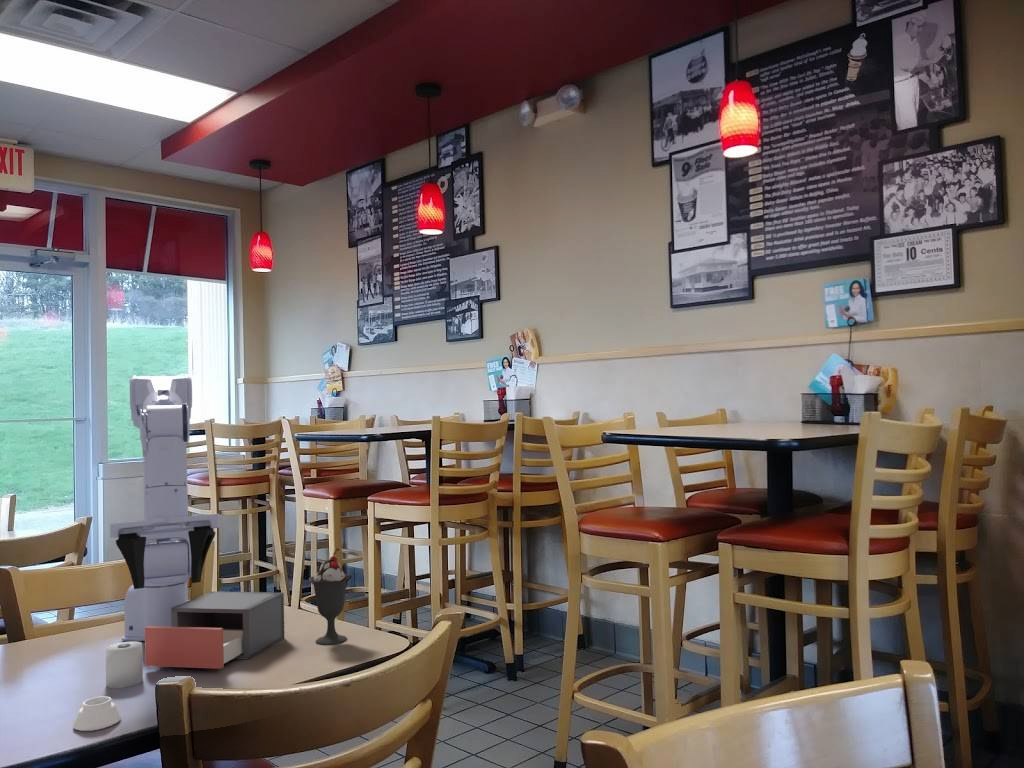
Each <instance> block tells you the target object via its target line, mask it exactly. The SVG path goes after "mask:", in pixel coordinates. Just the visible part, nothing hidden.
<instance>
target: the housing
mask: <svg viewBox="0 0 1024 768" xmlns="http://www.w3.org/2000/svg"><path fill="white" fill-rule="evenodd" d="M284 595H285V594H284V592H272V591H271V592H270V591H269V592H267V591H266V592H265V591H264V592H263V591H258V592H256V591H210V592H207V593H205V594H202V595H200V596H198V597H197V596H196V597H195V598H193V599H190V600H188V601H187V602H185V603H182V604H180V605H177V606H175V607H172V608H171V619H172V627H203V628H223V629H236V630H243V653H242V654H240V655H238V656H236V657H235V658H233V659H232V660H235V659H237V660H238V659H239V660H250V659H252V658H254V657H256V656H257V655H259V654H261V653H262V652H264V651H266V650H267V649H269V648H271V647H272V646H274V645H275V644H276V645H277V643H280V641H282V640H284V639H285V601H284V600H285V599H284V597H285V596H284Z"/></svg>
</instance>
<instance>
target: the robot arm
mask: <svg viewBox="0 0 1024 768" xmlns="http://www.w3.org/2000/svg"><path fill="white" fill-rule="evenodd" d="M192 407H193V381H192V378H191V377H190V376H189V375H188V374H187V375H184V376H183V375H181V376H180V375H178V376H176V375H175V376H173V375H172V376H171V375H169V376H168V375H167V376H165V375H164V376H162V375H161V376H160V375H159V376H157V375H156V376H154V375H153V376H149V375H148V376H137V375H132V376H131V377H130V379H129V409H130V414H131V415H130V417H131V418H130V419H131V421H132V423H133V427H135V428H138V429H139V434H140V435H139V440H140V443H141V450H142V458H143V459H144V460H143V511H144V512H143V516H144V517H143V518H144V519H143V520H142V519H141V520H134V521H127V522H125V521H124V522H117V523H110V524H109V532H110V533H109V537H110V538H111V539H115V544H116V546H117V548H118V549H119V552H120V553H121V555H122V556H123V558H124V559H123V560H125V562H126V566H127V568H128V570H129V573H130V577H131V578H130V579H131V581H132V585H130V586H129V587H128V589H127V591H126V594H125V597H124V603H123V605H124V608H123V611H124V620H123V621H124V635H123V636H122V637H121V641H123V642H131V641H136V642H145V627H147V626H164V627H172V619H171V608H172V607H175V606H177V605H180V604H182V603H185V602H187V601H189V597H188V595H189V594H188V582H189V578H190V579H191V584H194V583H201V582H202V574H203V569H204V565H205V562H206V558H207V555H208V552H209V549H210V548H211V544H212V543H213V541H214V540H215V536H216V532H215V529H222V514H220V513H211V514H201V515H198V514H197V515H189V499H188V497H189V496H188V494H189V493H188V488H189V487H188V453H187V444H188V443H189V439H190V431H191V430H190V429H191V427H190V425H191V423H190V419H192V418H191V417H192V416H191V415H192V414H191V413H192ZM117 538H118V539H117Z"/></svg>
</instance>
